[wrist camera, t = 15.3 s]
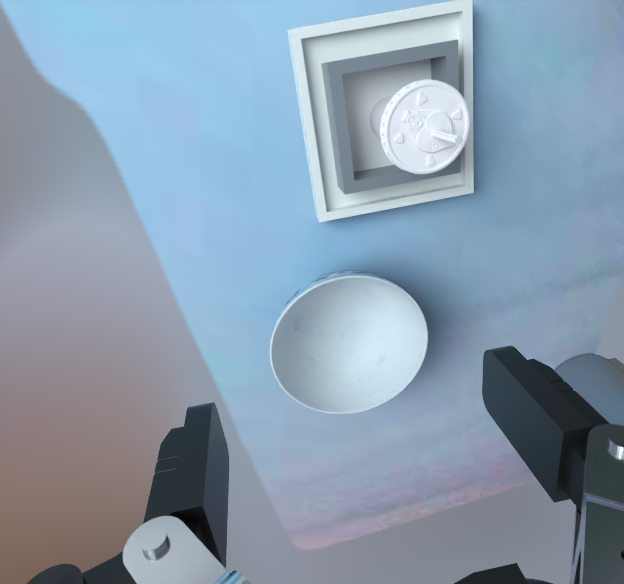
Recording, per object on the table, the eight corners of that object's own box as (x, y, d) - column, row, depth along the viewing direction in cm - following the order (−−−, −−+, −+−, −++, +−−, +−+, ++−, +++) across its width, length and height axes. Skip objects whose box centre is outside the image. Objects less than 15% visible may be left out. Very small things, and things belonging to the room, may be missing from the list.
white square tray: (461, 1, 39) (486, -8, 35) (464, 187, 46) (485, 198, 42) (287, 31, 39) (291, 25, 34) (316, 216, 46) (323, 230, 41)
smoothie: (401, 167, 43) (463, 204, 31) (342, 135, 41) (382, 160, 29) (438, 101, 41) (521, 111, 29) (377, 64, 39) (438, 58, 27)
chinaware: (284, 233, 46) (291, 260, 39) (422, 262, 49) (451, 292, 42) (254, 360, 52) (254, 404, 45) (379, 378, 55) (398, 422, 48)
